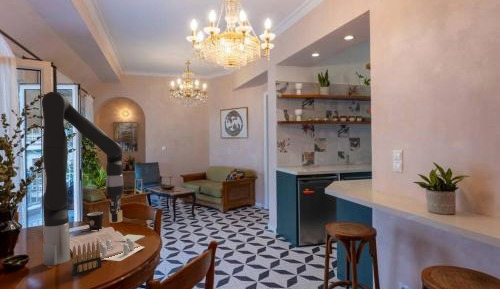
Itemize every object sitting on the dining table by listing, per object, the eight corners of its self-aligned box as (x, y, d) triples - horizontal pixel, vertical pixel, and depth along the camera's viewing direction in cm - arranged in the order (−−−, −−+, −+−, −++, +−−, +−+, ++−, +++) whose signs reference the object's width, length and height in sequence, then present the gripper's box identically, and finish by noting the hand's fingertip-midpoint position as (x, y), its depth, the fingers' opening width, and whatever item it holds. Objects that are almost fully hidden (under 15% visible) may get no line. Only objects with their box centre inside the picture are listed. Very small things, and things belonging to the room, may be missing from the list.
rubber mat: (131, 244, 159) (131, 242, 159) (114, 242, 162) (114, 240, 162) (145, 237, 170) (144, 235, 170) (128, 235, 173) (128, 234, 173)
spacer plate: (120, 262, 135) (119, 250, 135) (87, 258, 141) (86, 247, 141) (145, 247, 153) (144, 237, 153) (115, 245, 158) (114, 235, 158)
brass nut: (115, 223, 143) (115, 212, 143) (107, 222, 144) (106, 211, 144) (124, 220, 148) (124, 209, 148) (115, 219, 150) (115, 209, 150)
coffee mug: (106, 229, 187) (106, 212, 187) (93, 233, 180) (92, 216, 179) (95, 226, 193) (95, 210, 193) (82, 230, 186) (81, 214, 185)
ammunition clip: (100, 267, 131) (99, 239, 131) (101, 268, 130) (100, 240, 130) (72, 275, 124) (70, 245, 124) (73, 276, 123) (72, 246, 122)
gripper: (120, 186, 140) (121, 223, 140) (125, 182, 154) (126, 216, 154) (102, 187, 138) (103, 225, 138) (109, 183, 152) (110, 217, 152)
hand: (115, 220), depth 146 cm, fingers closed on brass nut, 5 cm apart
